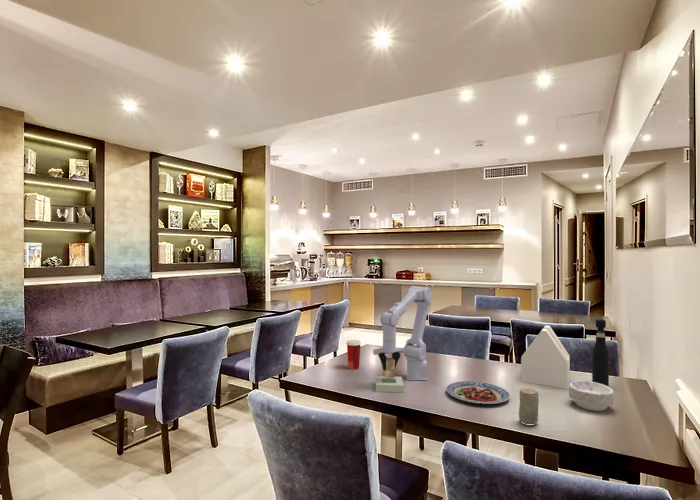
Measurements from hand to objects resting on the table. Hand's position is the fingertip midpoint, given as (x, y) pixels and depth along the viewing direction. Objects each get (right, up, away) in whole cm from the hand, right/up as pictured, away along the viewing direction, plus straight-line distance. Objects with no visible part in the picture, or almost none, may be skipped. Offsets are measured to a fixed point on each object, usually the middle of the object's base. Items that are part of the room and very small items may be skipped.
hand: (389, 369), depth 178 cm
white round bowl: (+78, -9, -21) cm, 81 cm away
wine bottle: (+97, -9, +4) cm, 98 cm away
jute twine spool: (+46, -9, -36) cm, 59 cm away
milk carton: (+76, -9, +11) cm, 77 cm away
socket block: (0, -8, 0) cm, 8 cm away
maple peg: (0, -3, 0) cm, 3 cm away
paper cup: (-16, -8, +29) cm, 34 cm away
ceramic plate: (+37, -9, -10) cm, 39 cm away
